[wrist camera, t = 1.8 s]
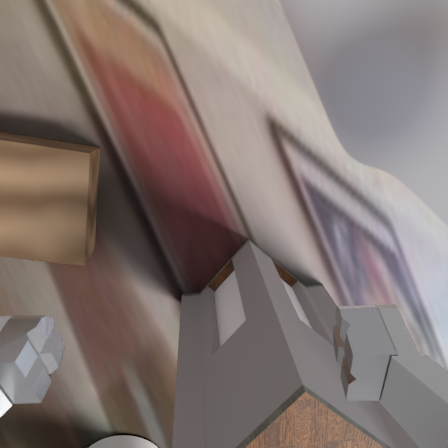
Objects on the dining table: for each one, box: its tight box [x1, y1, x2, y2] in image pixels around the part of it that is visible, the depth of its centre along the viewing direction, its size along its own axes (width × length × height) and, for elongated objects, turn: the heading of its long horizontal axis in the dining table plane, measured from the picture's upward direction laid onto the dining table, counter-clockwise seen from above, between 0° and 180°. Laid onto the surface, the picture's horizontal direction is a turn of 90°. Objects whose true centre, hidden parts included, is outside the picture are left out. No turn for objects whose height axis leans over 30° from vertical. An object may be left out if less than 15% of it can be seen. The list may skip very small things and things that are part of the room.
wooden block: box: [0, 132, 100, 266], centre depth 44 cm, size 14×14×5 cm
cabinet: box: [172, 239, 420, 448], centre depth 40 cm, size 21×10×28 cm, turn 92°
